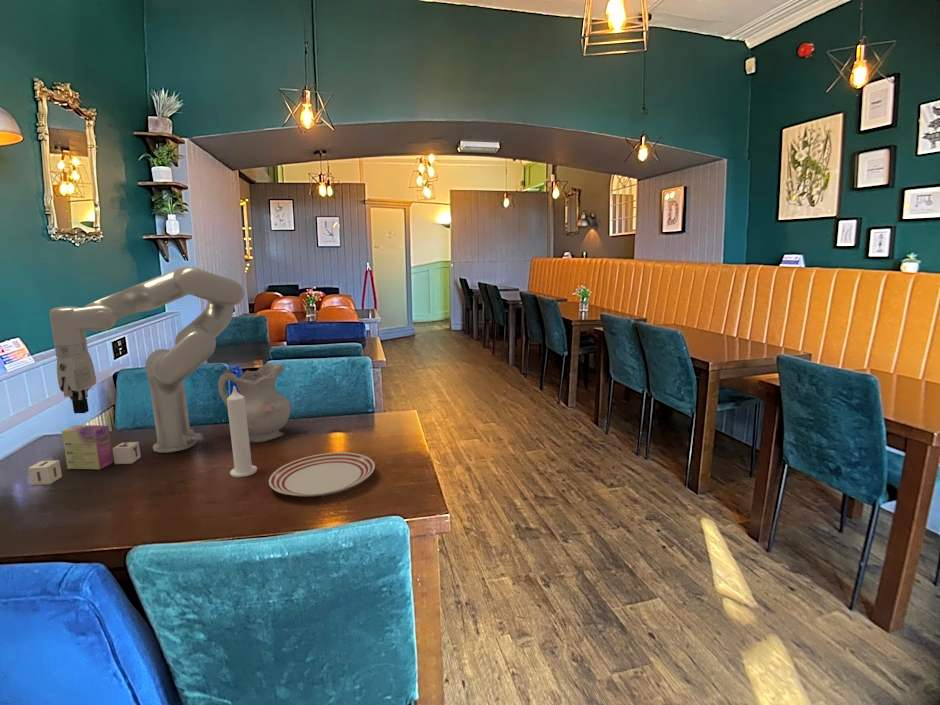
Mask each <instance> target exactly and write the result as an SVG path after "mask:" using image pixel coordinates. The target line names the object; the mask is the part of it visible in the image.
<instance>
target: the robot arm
mask: <svg viewBox="0 0 940 705" xmlns="http://www.w3.org/2000/svg"><path fill="white" fill-rule="evenodd" d="M244 292H245V291H244V288H243V287H242V285H241V284H240V283H239V282H238V281H236V280H233V279H231V278H228V277H225V276H221V275H219V274H215V273H213V272H209V271H206V270H203V269H201V268H198V267H195V266H194V267H193V266H181V267H177V268H176V269H172V270H170V271H167V272H166V273H164V274H161V275H158V276H156V277H153V278H151V279H149V280H146V281H143V282H140V283H138V284H135V285H133V286H130V287H128V288H126V289H122V290H120V291H118V292H116V293H113V294H109V295H108V296H104V297H102V298H100V299H97V300H94V301H92V302H89V303H88V304H86V305H85V306H82V307H78V306H58V307H54V308H51V309H50V310H49V320H50V326H51V332H52V333H51V334H52V338H53V339H52V340H53V344H54V353H55V357H56V375H57V376H56V377H57V384H58V388H59V390H60V392H63V398H64V397H65V398H70V401H71V402H72V408H73V413H74V414H86V413H88V412H89V411H90V410H89V404H88V398H89V396H88V395H89V391H90V390H91V389H92V387H94V386H95V385H96V384H97V377H96V371H95V367H94V364H93V360H92V356H91V354H90V352H89V348H88V343H87V334H86V331H87V332H88V331H91V332H92V331H93V332H96V331H97V332H99V331H100V332H101V331H102V332H103V331H107V330H110V329H111V328H112V327H114V326H115V324H116V322H117V320H120V319H122V318H124V317H127V316H130V315H133V314H136V313H141V312H150V311H152V310H156V309H158V308H160V307H163V306H166V305H168V304H169V303H172V302H174V301H177V300H179V299H182V298H184V297H187V296H189V295H190V296H194V297H197V298H199V299H203V300H205V301H207V305H206V307H205V309H204V310H203V311H202V312H201V313H200V314H199V315H198V316H197V317H196V318H194V320H192V321H191V322H190V323H188V325H186V326H185V327H184V328H183V329H181V330H180V331H179V332H178V333H177V335H176V336H175V340H174V343H175V345H173V346H172V347H171V348H170V349H165V348H160V349H156V350H154V351H152V352H151V353H150V354H149V355H148V357H147V359H146V360H145V372H146V377H147V380H148V381H147V382H148V385H149V390H150V395H151V396H150V397H151V406H152V413H153V417H154V418H153V419H154V427H155V434H156V440H157V442H156V443H153V445H152V450H153V451H154V452H155V453H161V454H163V453H165V454H166V453H167V454H168V453H175V452H181V451H184V450H187V449H190V448H192V447H194V446H195V445H197V442H200V441H203V440H204V435H203V433H202V432H201V433H200V432H199V433H198V432H197V433H196V432H194V428H192V429H191V428H190V420H189V414H188V413H189V411H188V404H187V395H186V388H185V384H184V383H185V382H184V380H185V379H187V378H188V377H190V375H192V374H193V373H194V372H195V371H196V370H198V368H200V366H202V365H203V364H204V363H205V362H206V361H207V360H208V359H209V358H210V357H211V356H212V355H213V353H214V351H215V350H216V345H217V340H216V339H217V337H219V335H220V334H221V333H223V331H224V330H225V329H226V328H227V327H228V326H229V324H230V323H231V321H232V318H233V315H234V311H235V310H234V309H235V308H234V307H235V306H236V305H238V304H240V303H241V302H242V301H243V298H244Z"/></svg>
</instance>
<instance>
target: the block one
mask: <svg viewBox="0 0 940 705" xmlns="http://www.w3.org/2000/svg"><path fill="white" fill-rule="evenodd" d="M27 470H28V477H29V481H30V485H31V486H41V485H52V484H53V483H54V482H56V481H57V480H60V479H62V478H63V474H62V469H61V463H60V460H58V459H57V460H42V461H41V460H40V461H39V462H36V463H35V464H33V465H31V466H29V467H28V468H27Z"/></svg>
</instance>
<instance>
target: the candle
mask: <svg viewBox="0 0 940 705" xmlns="http://www.w3.org/2000/svg"><path fill="white" fill-rule="evenodd" d="M227 406H228V407H227ZM227 406H226V407H227V416H228V415H229V416H228V421H229V432H230V439H231V447H232V448H231V450H232V457H233V458H232V459H233V464H234V465H233V468H232V469H231V470H230V471H229V474H230V476H231V477H233V478H243V477H249V476H251V475H254V474H256V473H257V471H258V467H257V466H256V465H253V464H252V455H251V446H250V442H249V435H248V426H247V416H246V407H245V398H244V396H242V395H241V394H239V391H238V390H237V387H236V386H235V385H233V387H232V392H231V394H230V395H229V396H228V398H227Z"/></svg>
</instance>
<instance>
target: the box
mask: <svg viewBox="0 0 940 705" xmlns="http://www.w3.org/2000/svg"><path fill="white" fill-rule="evenodd" d="M61 436H62V442H63V449H64V454H65V462H66V468H67V470H102V469H104V468H106V467H108V466H110V465H112V464H113V463H114V456H113V450H112V442H111V435H110V427H109V425H95V424H94V425H92V424H91V425H85V424H83V425H81V424H80V425H79V424H76V425H72V426H70V427H68V428H65V429H63V430H61Z"/></svg>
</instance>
